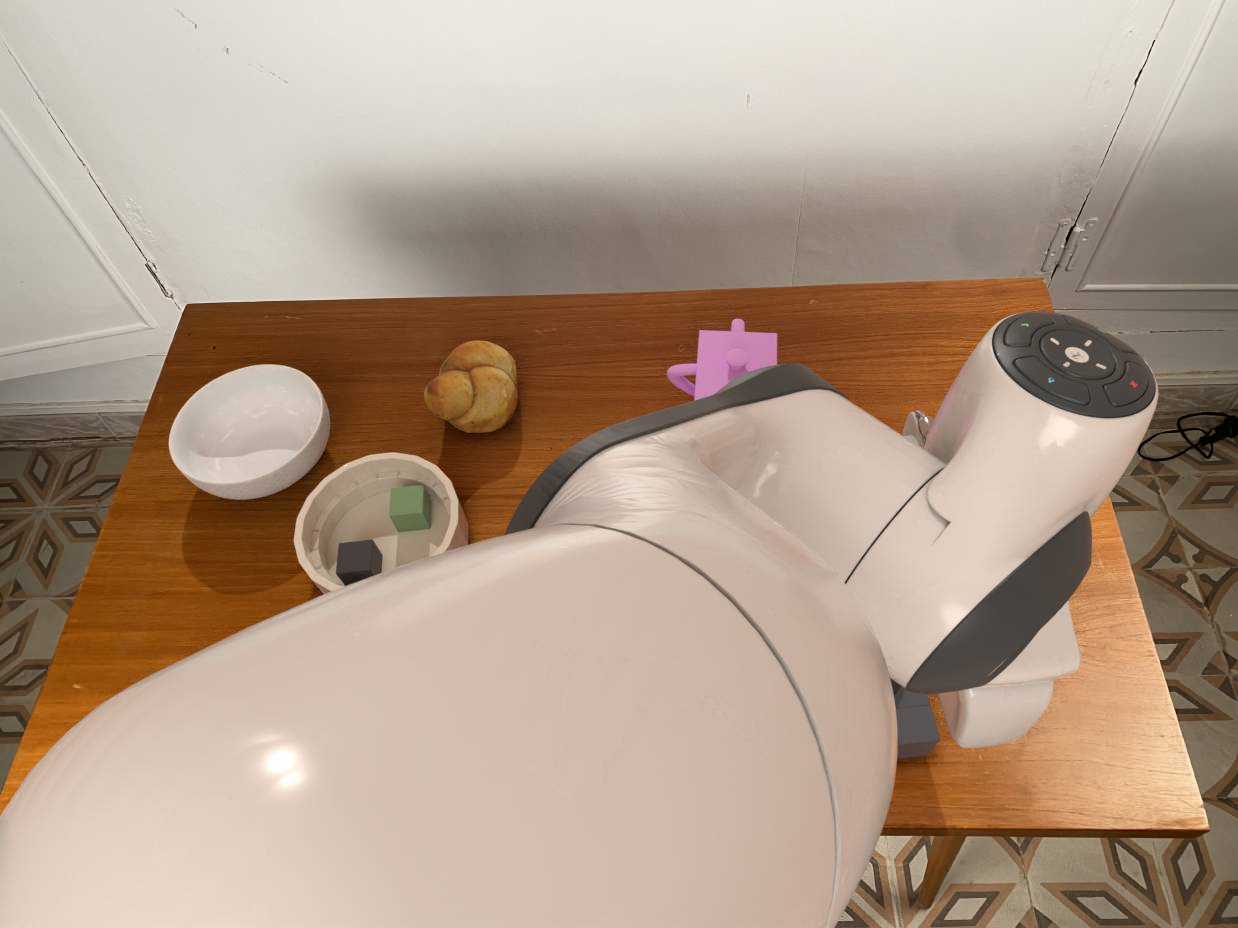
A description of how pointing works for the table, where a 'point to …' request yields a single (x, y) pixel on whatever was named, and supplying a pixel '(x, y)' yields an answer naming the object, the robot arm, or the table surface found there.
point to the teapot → (724, 359)
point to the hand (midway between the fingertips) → (917, 627)
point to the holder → (914, 724)
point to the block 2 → (410, 508)
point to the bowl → (375, 515)
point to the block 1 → (358, 561)
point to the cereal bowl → (251, 432)
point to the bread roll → (475, 388)
